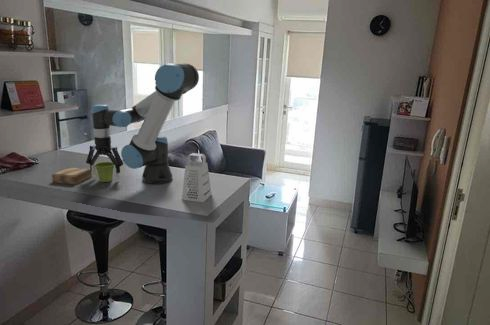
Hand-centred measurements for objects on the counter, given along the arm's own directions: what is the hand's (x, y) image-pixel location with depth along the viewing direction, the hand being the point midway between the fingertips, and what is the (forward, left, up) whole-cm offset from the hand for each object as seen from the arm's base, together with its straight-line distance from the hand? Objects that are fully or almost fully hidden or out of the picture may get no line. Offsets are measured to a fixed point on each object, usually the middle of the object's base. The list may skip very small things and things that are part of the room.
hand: (105, 177), depth 189 cm
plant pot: (0, 0, -2) cm, 2 cm away
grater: (-52, +9, -2) cm, 53 cm away
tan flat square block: (+17, +3, -1) cm, 17 cm away
